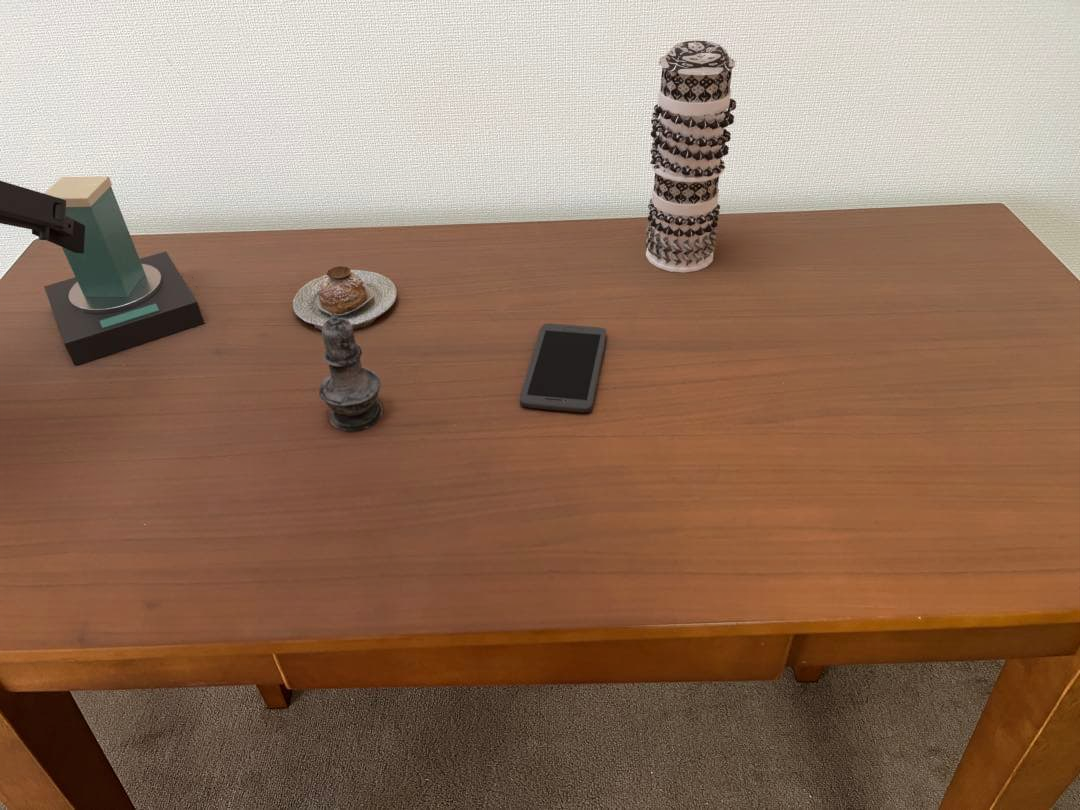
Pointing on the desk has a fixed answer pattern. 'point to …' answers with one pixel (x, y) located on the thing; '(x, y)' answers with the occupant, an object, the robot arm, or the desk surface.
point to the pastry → (345, 297)
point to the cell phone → (564, 368)
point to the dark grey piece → (348, 380)
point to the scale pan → (113, 304)
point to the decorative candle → (689, 155)
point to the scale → (125, 316)
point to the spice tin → (99, 238)
